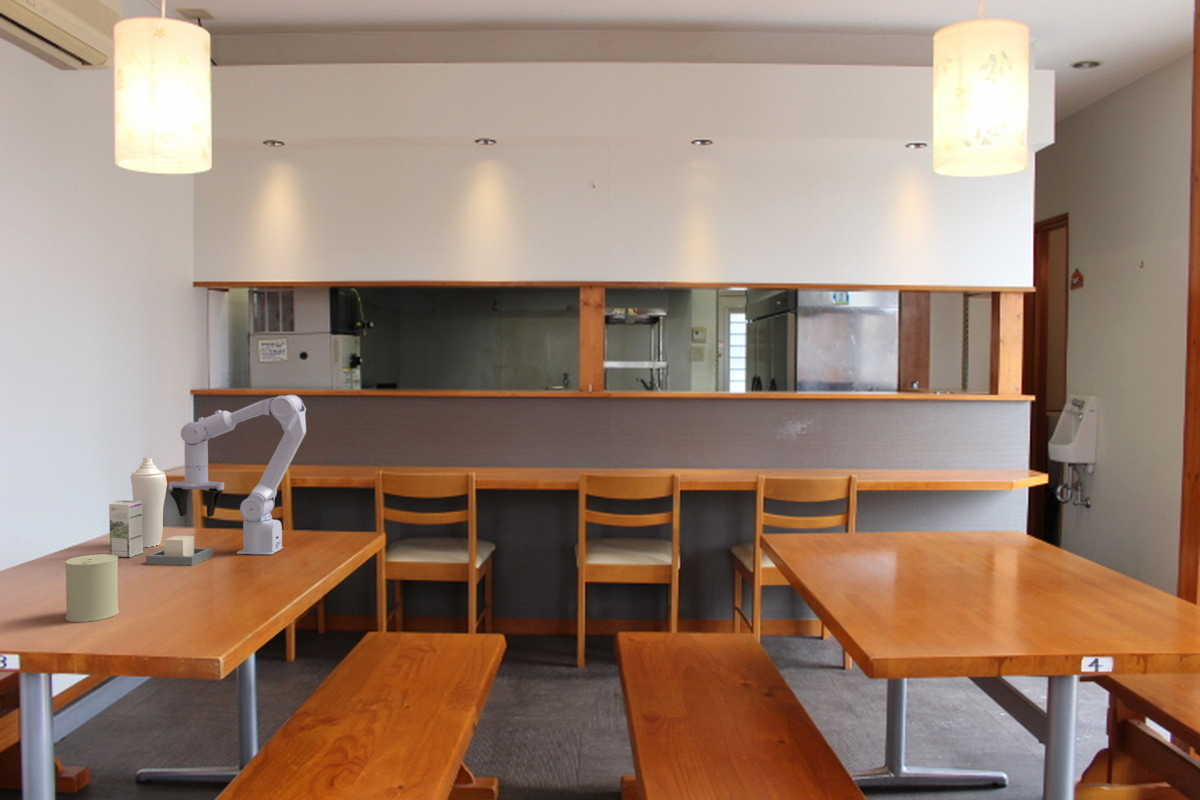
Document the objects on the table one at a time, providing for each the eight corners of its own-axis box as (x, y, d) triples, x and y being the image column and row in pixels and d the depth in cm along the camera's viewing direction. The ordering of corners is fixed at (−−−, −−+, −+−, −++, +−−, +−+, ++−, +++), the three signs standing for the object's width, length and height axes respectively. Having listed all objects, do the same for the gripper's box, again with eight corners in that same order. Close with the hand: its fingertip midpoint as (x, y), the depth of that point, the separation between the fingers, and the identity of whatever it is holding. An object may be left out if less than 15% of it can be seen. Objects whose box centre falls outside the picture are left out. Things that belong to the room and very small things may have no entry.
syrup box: (143, 553, 222) (143, 500, 221) (129, 558, 216) (128, 503, 215) (123, 552, 222) (123, 499, 222) (108, 557, 217) (108, 503, 216)
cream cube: (194, 555, 216) (193, 536, 216) (183, 559, 211) (183, 540, 211) (175, 554, 217) (175, 535, 217) (164, 558, 212) (164, 539, 212)
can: (61, 624, 161) (60, 563, 160) (70, 611, 169) (69, 553, 169) (115, 619, 165) (114, 559, 164) (121, 606, 173) (121, 550, 173)
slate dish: (212, 556, 219) (212, 548, 219) (191, 565, 209) (191, 557, 209) (168, 555, 220) (168, 547, 220) (146, 564, 210) (146, 555, 210)
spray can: (175, 541, 237) (174, 455, 236) (160, 549, 227) (160, 459, 226) (132, 542, 236) (131, 455, 235) (115, 550, 225) (114, 459, 224)
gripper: (161, 467, 220) (162, 517, 220) (214, 468, 219) (215, 519, 220) (176, 464, 227) (177, 513, 227) (228, 465, 226) (228, 514, 227)
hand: (196, 515), depth 224 cm, fingers open, 7 cm apart
